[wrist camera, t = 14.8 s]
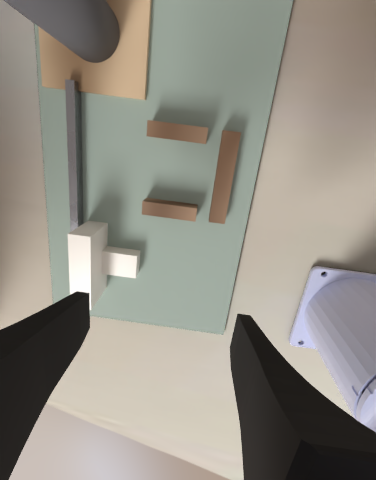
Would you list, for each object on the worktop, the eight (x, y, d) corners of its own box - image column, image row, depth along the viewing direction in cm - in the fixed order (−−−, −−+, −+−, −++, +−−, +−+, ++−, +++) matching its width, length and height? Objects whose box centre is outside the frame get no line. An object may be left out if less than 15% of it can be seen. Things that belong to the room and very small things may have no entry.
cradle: (239, 133, 18) (241, 132, 17) (223, 220, 20) (225, 225, 19) (151, 121, 18) (147, 119, 17) (145, 210, 21) (141, 214, 19)
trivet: (153, -32, 15) (152, -36, 15) (145, 100, 18) (144, 99, 18) (37, -46, 16) (33, -51, 15) (45, 87, 18) (42, 86, 18)
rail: (81, 83, 18) (74, 80, 17) (84, 287, 23) (79, 293, 22) (72, 82, 18) (64, 79, 17) (77, 286, 23) (72, 292, 22)
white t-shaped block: (141, 227, 21) (130, 242, 18) (137, 291, 23) (127, 315, 20) (88, 220, 21) (67, 233, 18) (89, 284, 23) (70, 307, 20)
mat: (296, -21, 16) (298, -26, 15) (223, 331, 25) (223, 334, 24) (32, -53, 16) (28, -58, 15) (55, 308, 25) (53, 310, 24)
